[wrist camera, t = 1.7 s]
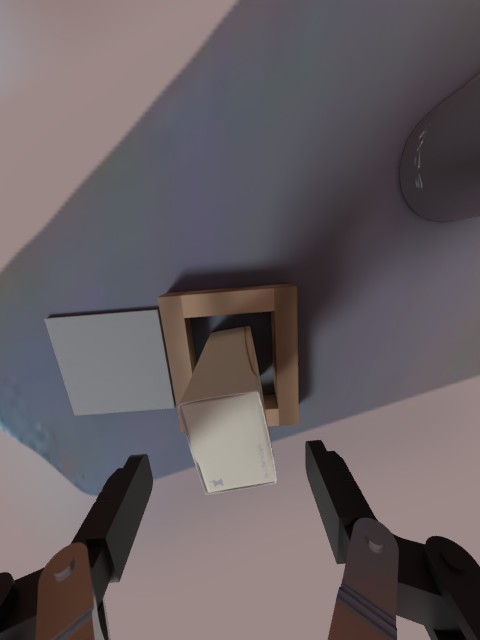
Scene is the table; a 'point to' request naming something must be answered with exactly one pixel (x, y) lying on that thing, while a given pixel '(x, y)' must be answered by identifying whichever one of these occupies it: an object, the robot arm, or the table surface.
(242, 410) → the skincare box
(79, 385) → the slate mat
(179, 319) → the frame
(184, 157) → the table surface
